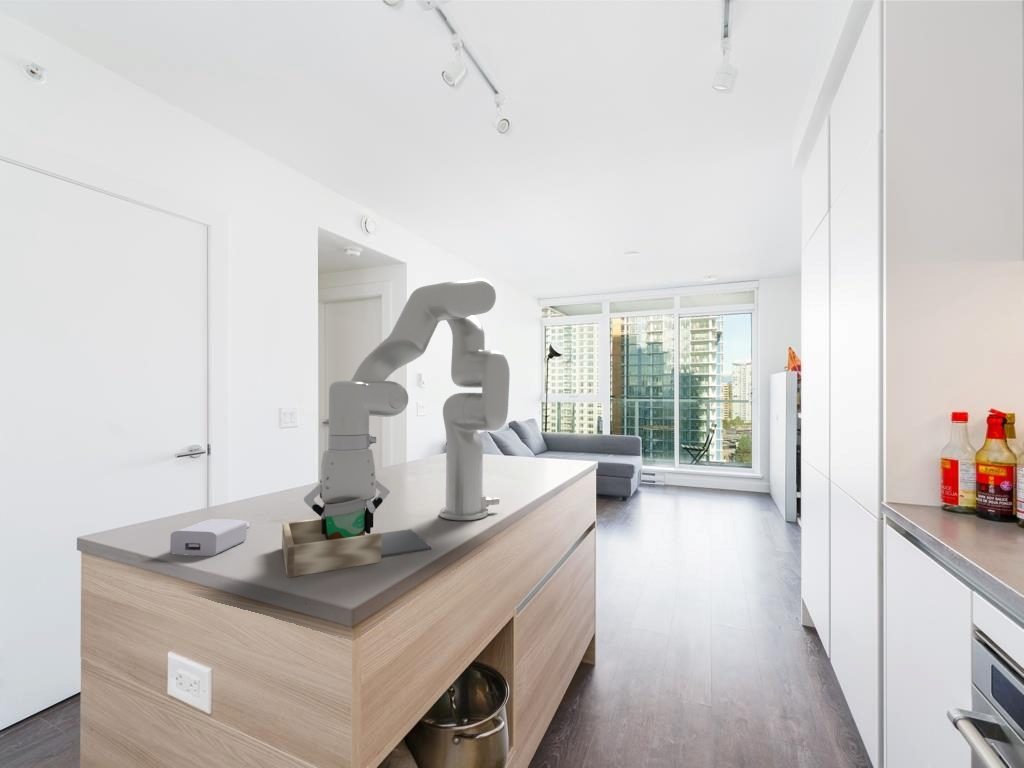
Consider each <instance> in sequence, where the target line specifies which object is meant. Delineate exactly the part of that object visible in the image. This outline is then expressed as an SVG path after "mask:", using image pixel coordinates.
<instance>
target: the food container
mask: <svg viewBox="0 0 1024 768" xmlns="http://www.w3.org/2000/svg"><path fill="white" fill-rule="evenodd" d="M366 507H367V504H366V501H365V500H361V498H358V499H355V500H352V501H348V502H343V503H337V504H328V505H325V515H324V517H326V523H327V533H328V540H333V539H341V538H348V537H355V536H362V535H366V532H365V510H366Z"/></svg>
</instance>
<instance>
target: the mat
mask: <svg viewBox="0 0 1024 768" xmlns="http://www.w3.org/2000/svg"><path fill="white" fill-rule="evenodd" d="M380 533H381V534H382V537H381V558H384V557H390V556H397V555H402V554H408V553H407V552H410V553H413V551H416V552H419V551H418V550H422V551H426V550H425V549H428V550H432V546H431V545H429V543H427V542H426V541H425V540H424V539H422V538H421V537H420V536H419V535H418V534H417V533H415V532H414V531H413V530H412V529H411V528H409V529H408V528H407V529H403V530H394V531H387V532H380Z"/></svg>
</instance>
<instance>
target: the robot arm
mask: <svg viewBox="0 0 1024 768" xmlns="http://www.w3.org/2000/svg"><path fill="white" fill-rule="evenodd" d="M496 293H497V292H496V290H495V287H494V286H493V284H492V283H491V282H490V281H489V280H487V279H485V278H481V277H480V278H473V279H467V280H456V281H446V282H440V283H435V284H430V285H424V286H421V287H420V286H419V287H418V288H416V289H415V290H413V292H412V293H411V294H410V295H409V298H408V299H407V301H406V304H405V305H404V307H403V309H402V311H401V313H400V315H399V316H398V319H397V321H396V322H395V324H394V327H393V329H392V330H391V332H390V334H389V335H388V336H387V338H385V339H384V340H382V341H381V343H379V345H377V347H375V348H374V349H373V350H372V351H371V352H370V353H369V354H368V355H367V356H366V357H364V359H363V360H362V362H361V363H360V364H359V366H358V367H357V369H356V370H355V373H354V375H353V376H352V378H351V380H337V381H336V380H335V381H334V382H332V383H330V385H329V391H328V440H327V441H328V445H327V446H328V447H327V448H328V450H324V451H323V453H322V458H321V466H320V475H319V484H318V485H316V486H315V487H314V488H313V489H312V490H311V491H310V492H309V493H307V494H306V495H305V496H304V497H303V502H304V503H305V504H306V505H307V506H308V507H309V508H311V510H312V511H313V512H315V513H316V514H317V515H318V516H319V517H321V518H322V520H321V533H322V535H323V534H325V538H326V540H328V533H327V523H326V517H324V515H325V505H328V504H337V503H343V502H348V501H352V500H355V499H358V498H361V500H365V501H366V504H367V507H365V534H366V535H370V534H371V529H372V528H374V513H375V512H376V510H377V509H378V508H379V507H380V505H382V504H383V501H384V500H385V499H386V498H387V497H388V495H389V494H390V489H388V488H387V487H386V486H385V485H383V484H382V483H380V482H379V481H378V480H377V479H376V468H375V467H376V466H375V458H374V453H373V449H372V448H370V446H371V445H373V444H376V443H377V436H372V435H370V434H369V433H370V417H380V418H381V417H384V418H385V417H386V418H390V417H391V418H392V417H395V416H398V415H399V414H401V413H403V412H404V411H405V409H406V408H407V406H408V404H409V393H408V391H407V390H406V388H405V387H404V386H403V385H402V384H400V383H398V382H395V381H392V380H387V379H388V378H389V377H390V376H391V375H392V374H393V373H395V371H397V370H398V369H400V368H402V367H403V366H406V365H407V364H410V363H411V362H413V361H415V360H416V359H418V358H419V357H421V356H423V354H425V352H426V350H427V348H428V346H429V343H430V341H431V339H432V337H433V335H434V333H435V331H436V328H437V326H438V324H439V323H440V322H442V321H446V322H447V323H448V325H449V327H450V331H451V335H452V336H451V337H452V343H451V344H452V345H451V347H452V348H451V364H450V365H451V367H450V376H451V380H452V382H453V383H454V385H456V386H457V387H460V388H465V389H466V388H468V389H469V388H473V389H474V388H475V389H476V388H477V389H478V388H481V392H457V393H454V394H452V395H450V396H449V397H447V399H446V400H445V401H444V403H443V407H442V417H443V423H444V428H445V438H446V439H445V440H446V446H445V447H446V455H445V456H446V458H445V462H446V463H445V465H446V467H445V507H442V508H441V509H439V512H438V513H439V514H438V515H439V517H441V518H443V519H445V520H451V521H474V520H480V519H483V518H485V517H487V516H488V515H489V509H488V508H487V507H489V506H496V505H499V504H500V497H498V496H497V497H496V496H495V497H490V496H485V495H483V492H484V491H483V487H484V486H483V483H484V481H483V475H484V473H483V472H484V465H483V464H484V445H483V441H482V439H481V436H480V434H479V432H478V431H485V432H486V431H489V432H493V431H498V430H500V429H502V428H504V427H503V426H504V425H505V424H506V421H507V418H508V413H509V398H510V397H509V392H510V367H509V362H508V359H507V358H506V356H505V355H504V354H503V353H502V352H500V351H498V350H494V349H490V350H489V349H488V350H485V345H486V343H485V331H484V328H483V326H482V324H481V322H480V321H479V320H478V318H477V317H476V316H477V315H482V314H486V313H488V312H490V311H491V310H493V309H492V308H494V306H495V303H496V299H497V295H496ZM377 490H378V491H379V493H378V495H377V496H376V494H377ZM318 496H319V498H320V499H321V500H322V503H323V505H319V504H318V503H317V502H316V501H315V498H317V497H318ZM372 499H373V500H372Z"/></svg>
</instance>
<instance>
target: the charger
mask: <svg viewBox="0 0 1024 768" xmlns="http://www.w3.org/2000/svg"><path fill="white" fill-rule="evenodd" d="M251 526H252V525H251V523H250V521H246V520H243V519H232V518H231V519H229V518H227V519H225V518H208V519H206V520H205V519H204V520H203V521H200V522H197V523H195V524H192V525H188V526H186V527H183V528H181V529H177V530H175V531H173V532H171V533H170V540H169V541H170V545H169V547H170V548H169V552H170V554H171V553H174V554H188V555H187V556H195V555H210V556H209V557H213V556H217V555H218V554H220V553H222V552H224V551H227V550H228V549H230V548H233V547H235V546H237V545H239V544H241V543H243V542H245V541H246V540H247V530H248V529H250V527H251Z"/></svg>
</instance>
